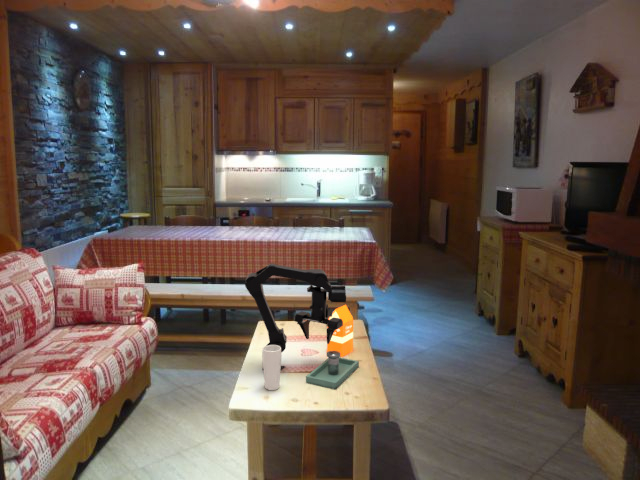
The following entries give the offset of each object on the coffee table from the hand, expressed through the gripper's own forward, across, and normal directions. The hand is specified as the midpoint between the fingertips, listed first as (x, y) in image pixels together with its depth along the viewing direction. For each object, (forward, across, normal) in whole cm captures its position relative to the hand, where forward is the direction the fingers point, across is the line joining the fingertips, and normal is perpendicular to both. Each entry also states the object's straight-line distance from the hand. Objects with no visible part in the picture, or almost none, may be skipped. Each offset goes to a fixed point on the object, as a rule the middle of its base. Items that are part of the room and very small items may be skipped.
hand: (317, 341), depth 200 cm
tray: (+11, -8, +2) cm, 14 cm away
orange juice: (+11, 0, -20) cm, 23 cm away
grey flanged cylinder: (+10, -8, +2) cm, 13 cm away
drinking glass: (+12, +6, +23) cm, 26 cm away
